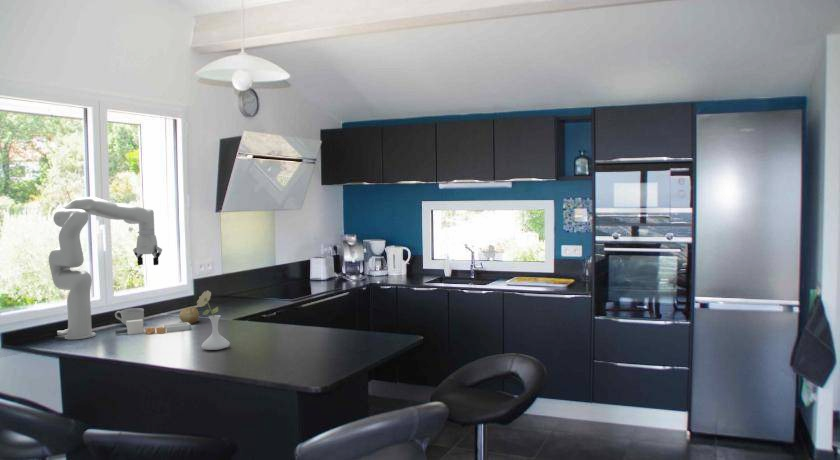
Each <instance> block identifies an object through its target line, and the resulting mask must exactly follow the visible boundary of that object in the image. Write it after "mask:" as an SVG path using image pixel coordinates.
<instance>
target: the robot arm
mask: <svg viewBox="0 0 840 460" xmlns="http://www.w3.org/2000/svg"><path fill="white" fill-rule="evenodd" d="M89 215H90V216H91V215H93V216H96V217H101V218H104V219H108V220H117V221H119V220H121V221H124V222H125V223H127V224H131V225H136V224H138V230H137V234H138V235H137V238H136V247H134V248H133V249H132V251H133V253H134V255H135V257H136V259H137V266H143V265H144V264H143V263H144V259H143V258H144V257H143V255H152V256H153V258H152V259H153V261H152V262H153V263H152V264H153V266H158V265H159V258H160V256H161V255H162V252H163V248H161V247H159V246H158V239H157V236H156V234H155V216H154V215H155V213H154V210H153V209H150V208H149V209H146V208H143V207H140V206H136V205H130V204H124V203H120V202H114V201H110V200H106V199H104V198H99V197H96V196H84V197H83V196H82V197H81V196H80V197H77V198H75V199H73V200H71V201H70V202H69V203H67V204H65V205H63V206H62V207H61V208H59V209H57V210H56V211H55V212H54V214H53V222H54V225H56V226H58V227H60V228H61V229H60V230H59V233H58V243H59V247H56V248H54V249H52V250H51V251H50V253H49V256H48V265H49V269H50V273H51V278H52V282H53V284H54V286H55V287H56V288H57V289H58V290H63V291H69V292H68V295H67V298H66V299H67V300H66V307H67V329H64V330H57V331H56V332H57V333H56V334H57V336H64V339H65V340H83V339H89V338H93V337H95V336H96V335H97V334H96V332H94V331H92V330H93V329H92V307H91V306H92V305H91V288H92V284H93V283H92V282H93V281H92V280H93V279H92V275H91V274H90V273H89V272H88V271H86V270H84V269H75V268H79V267H81V266H82V265H83V263H84V261H85V259H84V254H83V253H84V252H83V248H82V243H81V233H82V230H83V228H84V227H85V226H86V224H87V223H88V221H89ZM73 268H74V269H73Z"/></svg>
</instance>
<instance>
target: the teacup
mask: <svg viewBox="0 0 840 460" xmlns="http://www.w3.org/2000/svg"><path fill="white" fill-rule="evenodd" d="M144 312H145V309H144V308H142V307H141V308H140V307H136V308H135V307H134V308H133V307H131V308H125V309H122V310H118V311H116V312H115V313H114V317H115V319H117V320H118V321H120V322H121V323H122V324H123V325H125V326H126V327H127V325H126V321H130V320H139V319H142V320H143V321H144V319H145V313H144ZM118 314H120V316H119V315H118Z"/></svg>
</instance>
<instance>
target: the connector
mask: <svg viewBox="0 0 840 460" xmlns="http://www.w3.org/2000/svg"><path fill="white" fill-rule="evenodd" d="M126 325H127V326H126ZM126 325H125V326H126V328H124V329H116V330H115V331H114V332H115V335H120V334H127V335H135V334H145V333H144V332H145V331H144V330H145V329H144V320H142V319H139V320H130V321H126Z"/></svg>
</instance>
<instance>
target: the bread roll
mask: <svg viewBox="0 0 840 460" xmlns="http://www.w3.org/2000/svg"><path fill="white" fill-rule="evenodd" d="M178 316H179V319H180V321H181V323H184V322H188V323H190V324H191V325H193V324H195V323H197V321H198V319H199V317H200V313H199V310H198V308H197V307H193V306H192V307H190V306H189V307H185V308H183V309H181V310H180V312H179V314H178Z"/></svg>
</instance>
